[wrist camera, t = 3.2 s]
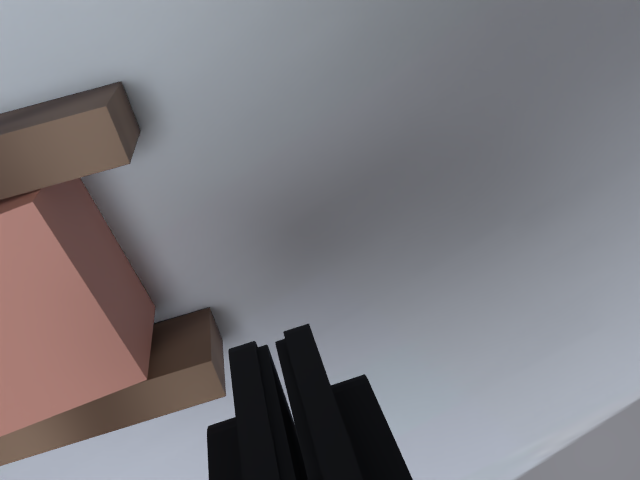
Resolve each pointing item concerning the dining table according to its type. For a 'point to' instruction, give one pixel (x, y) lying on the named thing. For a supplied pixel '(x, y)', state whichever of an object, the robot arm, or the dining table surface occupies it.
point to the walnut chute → (168, 336)
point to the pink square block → (65, 307)
